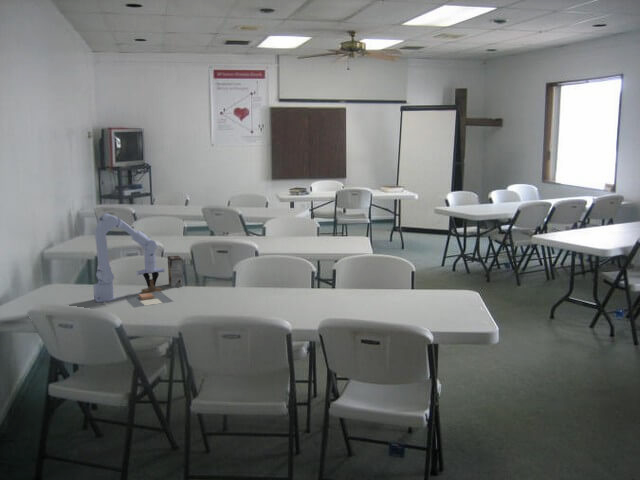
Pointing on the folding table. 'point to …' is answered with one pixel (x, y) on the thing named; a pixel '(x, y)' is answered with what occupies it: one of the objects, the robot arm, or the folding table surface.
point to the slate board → (148, 300)
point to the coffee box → (175, 271)
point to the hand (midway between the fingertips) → (151, 286)
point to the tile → (146, 296)
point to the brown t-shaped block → (151, 287)
